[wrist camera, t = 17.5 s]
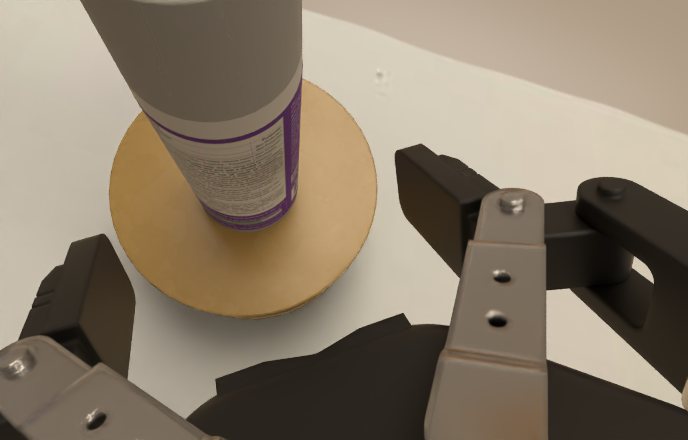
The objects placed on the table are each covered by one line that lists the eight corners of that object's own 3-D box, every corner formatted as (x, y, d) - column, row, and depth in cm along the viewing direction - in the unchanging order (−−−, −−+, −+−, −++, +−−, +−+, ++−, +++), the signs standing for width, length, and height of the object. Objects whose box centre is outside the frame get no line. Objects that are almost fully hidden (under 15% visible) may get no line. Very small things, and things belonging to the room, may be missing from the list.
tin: (165, 347, 26) (127, 346, 20) (134, 140, 29) (93, 87, 23) (382, 295, 28) (407, 280, 22) (333, 107, 31) (343, 49, 25)
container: (235, 123, 23) (144, -242, 9) (316, 171, 23) (356, -122, 9) (177, 199, 22) (-37, -84, 8) (263, 251, 22) (207, 61, 7)
